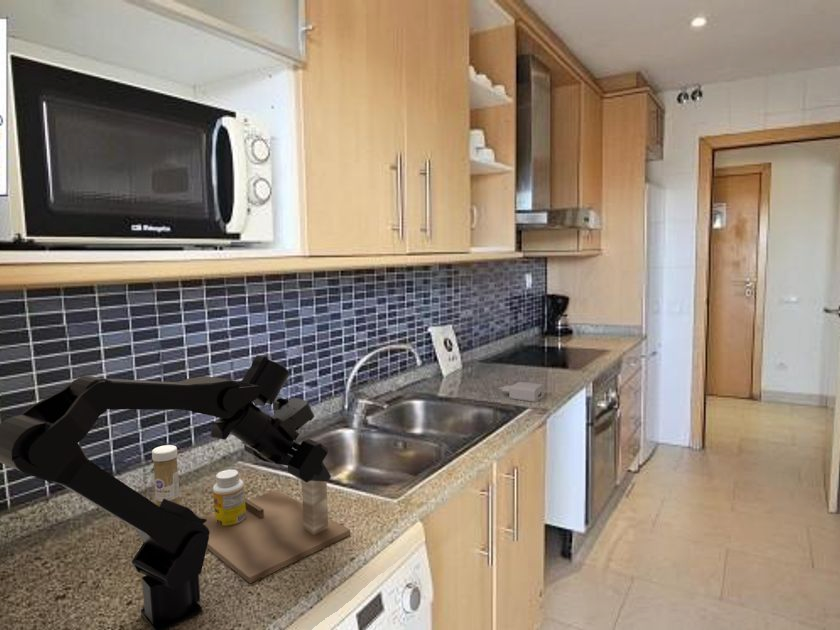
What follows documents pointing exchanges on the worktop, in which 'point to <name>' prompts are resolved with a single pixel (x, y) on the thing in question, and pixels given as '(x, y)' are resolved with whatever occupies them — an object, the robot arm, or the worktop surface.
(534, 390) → the charger
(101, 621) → the worktop surface
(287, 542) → the square wooden board
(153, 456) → the sprinkles bottle
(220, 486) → the supplement bottle
